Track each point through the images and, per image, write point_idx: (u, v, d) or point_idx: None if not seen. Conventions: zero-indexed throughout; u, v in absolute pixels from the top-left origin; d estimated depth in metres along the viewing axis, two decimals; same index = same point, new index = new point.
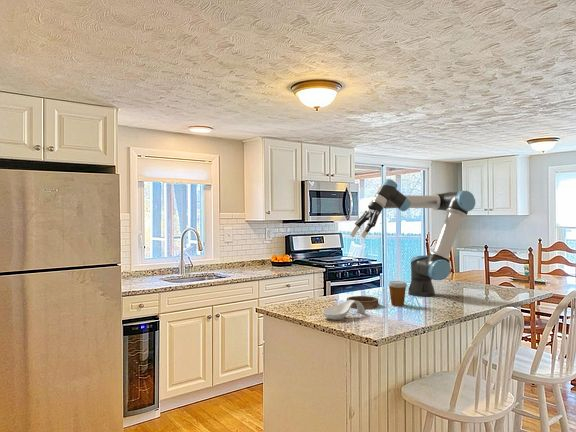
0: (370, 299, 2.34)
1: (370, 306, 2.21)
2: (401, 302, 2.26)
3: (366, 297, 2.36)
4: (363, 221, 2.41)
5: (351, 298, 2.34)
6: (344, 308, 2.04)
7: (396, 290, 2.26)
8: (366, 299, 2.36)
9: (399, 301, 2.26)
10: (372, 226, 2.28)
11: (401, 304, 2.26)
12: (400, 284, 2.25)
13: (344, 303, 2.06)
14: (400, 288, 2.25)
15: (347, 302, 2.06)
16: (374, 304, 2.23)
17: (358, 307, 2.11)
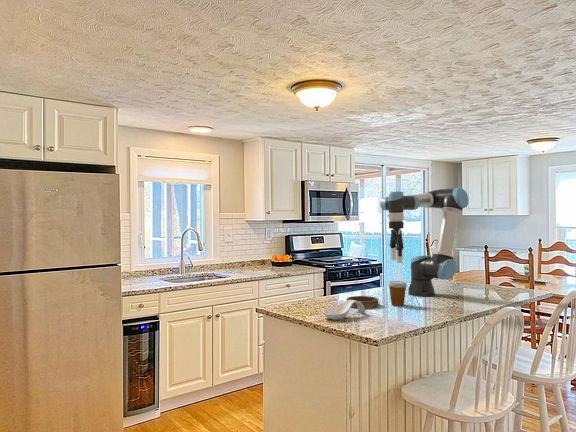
0: (370, 299, 2.34)
1: (370, 306, 2.21)
2: (401, 302, 2.26)
3: (366, 297, 2.36)
4: (395, 241, 2.34)
5: (351, 298, 2.34)
6: (344, 308, 2.04)
7: (396, 290, 2.26)
8: (366, 299, 2.36)
9: (399, 301, 2.26)
10: (401, 249, 2.20)
11: (401, 304, 2.26)
12: (400, 284, 2.25)
13: (344, 303, 2.06)
14: (400, 288, 2.25)
15: (347, 302, 2.07)
16: (374, 304, 2.23)
17: (359, 307, 2.11)
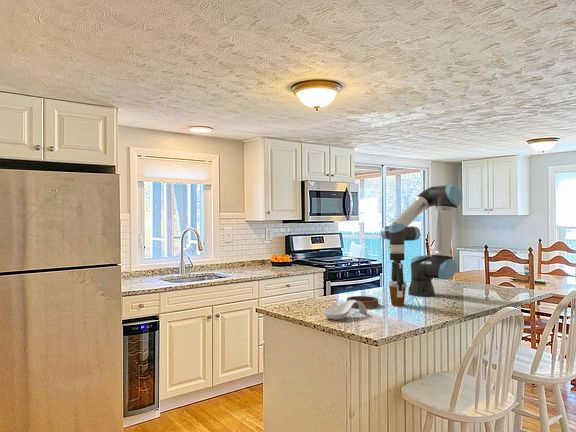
0: (370, 299, 2.34)
1: (370, 306, 2.21)
2: (401, 302, 2.26)
3: (366, 297, 2.36)
4: (396, 274, 2.33)
5: (351, 298, 2.34)
6: (345, 308, 2.04)
7: (396, 290, 2.26)
8: (366, 299, 2.36)
9: (399, 301, 2.26)
10: (402, 283, 2.22)
11: (401, 304, 2.26)
12: None
13: (345, 303, 2.07)
14: None
15: (348, 302, 2.07)
16: (374, 304, 2.23)
17: (360, 307, 2.10)
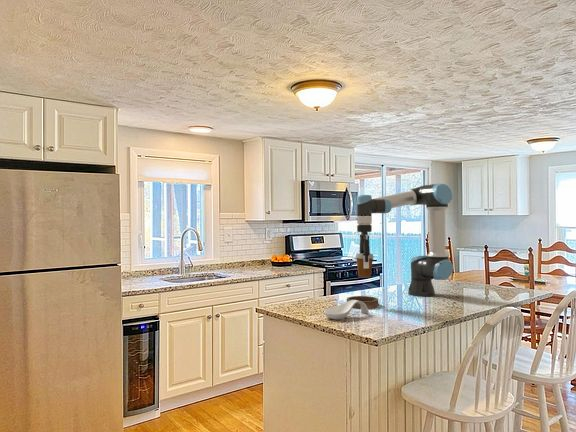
0: (370, 299, 2.34)
1: (370, 306, 2.21)
2: (368, 273, 2.26)
3: (366, 297, 2.36)
4: None
5: (351, 298, 2.34)
6: (346, 308, 2.05)
7: None
8: (366, 299, 2.36)
9: (365, 273, 2.26)
10: (368, 254, 2.22)
11: (368, 275, 2.26)
12: None
13: (347, 303, 2.07)
14: None
15: (350, 302, 2.07)
16: (374, 304, 2.23)
17: (362, 307, 2.10)
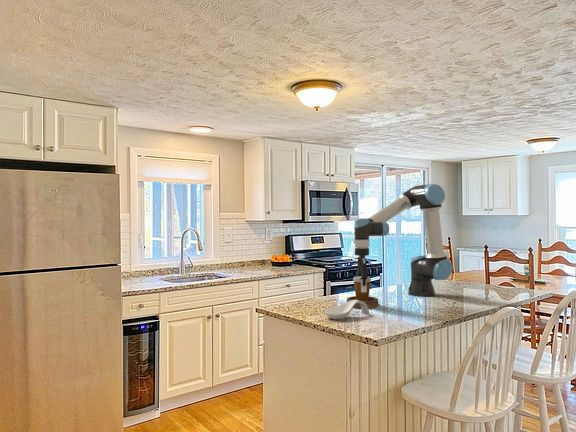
0: (370, 299, 2.34)
1: (370, 306, 2.21)
2: (365, 297, 2.26)
3: None
4: (361, 269, 2.33)
5: (351, 298, 2.34)
6: (347, 308, 2.05)
7: (360, 285, 2.26)
8: None
9: (363, 296, 2.26)
10: (365, 278, 2.22)
11: (365, 299, 2.26)
12: None
13: (347, 303, 2.07)
14: None
15: (350, 302, 2.07)
16: (374, 304, 2.23)
17: (362, 307, 2.10)
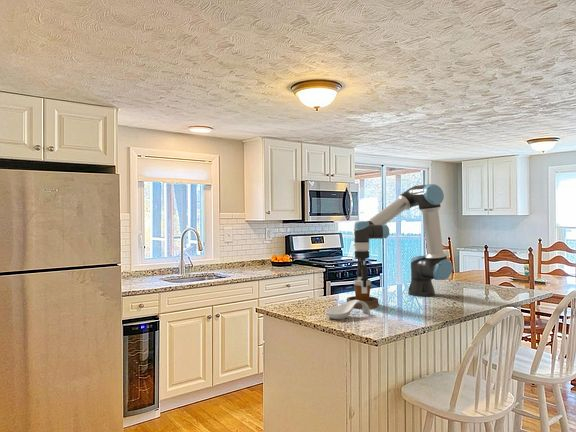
0: (370, 299, 2.34)
1: (370, 306, 2.21)
2: (365, 300, 2.26)
3: None
4: (361, 270, 2.34)
5: (351, 298, 2.34)
6: (348, 308, 2.05)
7: (361, 289, 2.26)
8: None
9: (363, 300, 2.26)
10: (366, 279, 2.20)
11: None
12: None
13: (348, 303, 2.07)
14: None
15: (351, 302, 2.07)
16: (374, 304, 2.23)
17: (363, 307, 2.10)
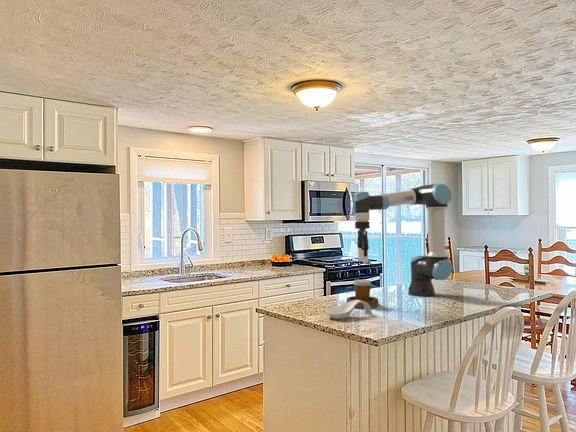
0: (370, 299, 2.34)
1: (370, 306, 2.21)
2: (365, 300, 2.26)
3: None
4: (361, 241, 2.35)
5: (351, 298, 2.34)
6: (349, 308, 2.05)
7: (361, 289, 2.26)
8: None
9: (363, 300, 2.26)
10: (367, 249, 2.21)
11: None
12: (364, 282, 2.25)
13: (349, 303, 2.07)
14: (364, 286, 2.25)
15: (352, 302, 2.07)
16: (374, 304, 2.23)
17: (365, 307, 2.10)
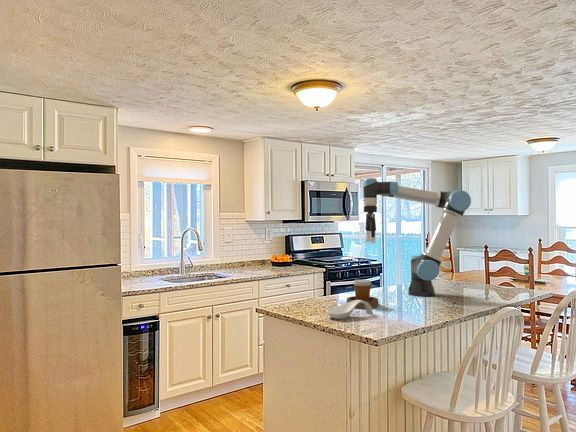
0: (370, 299, 2.34)
1: None
2: (365, 300, 2.26)
3: None
4: (369, 224, 2.55)
5: (351, 298, 2.34)
6: (349, 308, 2.05)
7: (361, 289, 2.26)
8: None
9: (363, 300, 2.26)
10: (374, 230, 2.42)
11: None
12: (364, 282, 2.25)
13: (350, 303, 2.07)
14: (364, 286, 2.25)
15: (353, 302, 2.07)
16: (374, 304, 2.23)
17: (366, 307, 2.10)
